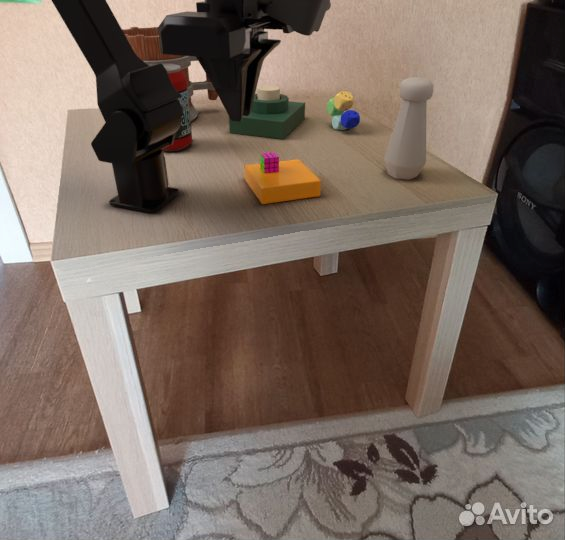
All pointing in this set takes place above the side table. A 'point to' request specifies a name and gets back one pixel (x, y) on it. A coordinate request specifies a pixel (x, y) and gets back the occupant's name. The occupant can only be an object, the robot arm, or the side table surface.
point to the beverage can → (180, 84)
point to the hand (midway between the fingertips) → (240, 118)
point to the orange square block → (281, 179)
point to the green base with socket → (270, 118)
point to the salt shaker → (409, 130)
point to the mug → (166, 60)
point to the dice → (337, 108)
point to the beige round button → (268, 93)
